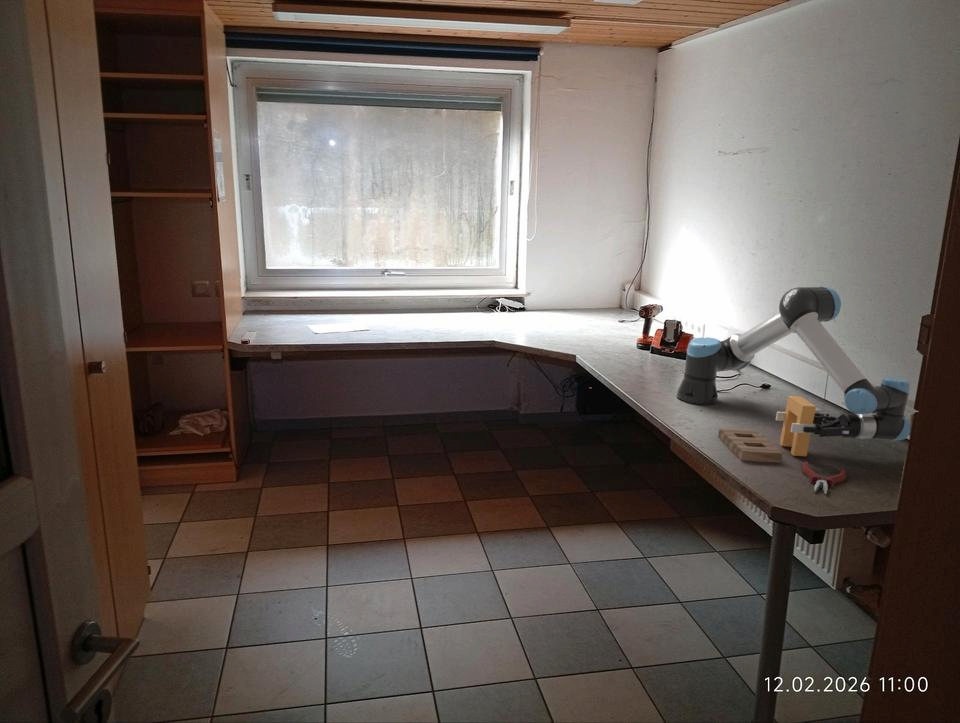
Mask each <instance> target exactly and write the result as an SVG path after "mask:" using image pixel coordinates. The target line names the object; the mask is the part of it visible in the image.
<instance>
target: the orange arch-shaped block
mask: <svg viewBox="0 0 960 723" xmlns="http://www.w3.org/2000/svg"><path fill="white" fill-rule="evenodd" d="M816 409H817V406H816V405H815V404H813V403H812V402H810V401H808V400H807V399H805V398H804V397H802V396H799V395H788V396H787V400H786V406H785V411H784V412H785V417H784V421H782V422H783V423H782V430H781V433H780V439H779V445H780V446H782V447H791V449H790V450H791V451H790V454H791V455H792V456H794V457H795V456H796V457H797V456H798V457H807V456H808V451H809V446H810V440H811V435H812V434H811V433H793V432H790V431H791V426H792V423H799V424H813V420H814V415H815V413H816Z"/></svg>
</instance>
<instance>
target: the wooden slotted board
mask: <svg viewBox="0 0 960 723" xmlns="http://www.w3.org/2000/svg"><path fill="white" fill-rule="evenodd" d="M717 437H718V438H719V439H720V440H721V441H722V442H723V443H724V445H725V446H726V447H727V448H728V449H729V450H730V451H731V452H732V453H733V454H734V455H735V456H736V457H737V459H739V460H740V461H744V462H758V463H759V462H762V463H764V462H765V463H777V464H778V463H779V464H780V463H782V459H783V452H782V451H781V450H779V449H778V448H777V447H776V446H775V445H774V444H773V443H771V441H769V440H768V439H767V438H766V437H764V435H763V434H761V433H760V432H759V431H758V430H757V429H743V428H741V429H740V428H726V427H725V428H724V427H723V428H721V427H719V428H718V435H717Z"/></svg>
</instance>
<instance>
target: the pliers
mask: <svg viewBox="0 0 960 723" xmlns="http://www.w3.org/2000/svg"><path fill="white" fill-rule="evenodd" d="M801 472H802V473H803V475H805V476H806V477H807V478H808V477H809V478H810V479H809V478H808V479H809V482H810V484H813V483H816V484H814V489H813V492H814V493H815V492H817V491H818V490H820V488H822V487H823V488H822V491H824V492H823V493H824V494H825V495H827V494H828V493H827V492H828V488H830V487H831V489H832V488H834V485H835V484H839V483H842V482H844V481H845V479H846V471H845V469H842V468H841V469H840V471H839V472H840V473H838V474H834V475H831V476H828V477H824V478H823V477H822V476H820V475H819V474H817V473H816V472H815V471H814V470H812V469H811V467H809V462H808V461H804V462H803V463H802V465H801ZM822 478H823V479H822Z"/></svg>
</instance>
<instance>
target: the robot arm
mask: <svg viewBox="0 0 960 723" xmlns="http://www.w3.org/2000/svg"><path fill="white" fill-rule="evenodd" d="M841 308H842V301H841V298H840V295H839V294H838V292H837V291H836V290H835V289H833V288H831V287H827V286H823V285H821V286H807V287H806V286H804V287H801V286H799V287H794V288H791V289H789V290H788V291H786V292H785V293H783V295H782V297H781V299H780V301H779V306H778V309H779V310H778V312H776V313H775V314H773V315H771V316H770V317H769V318H767V319H765V320H763V321H762V322H760V323H758V324H757V325H755V326H754V327H752V328H750V329H749V330H747V331H746V332H743V333H735V334H734V333H733V335H731V336H729V337H728V338H726V339H724V340H719V339H718V338H714V337H696V338H693V339H691V340H690V341H689V342H688V345H687V349H686V359H685V364H684V365H685V366H684V373H683V378H682V380H681V382H680V384H679V387H678V388H677V391H676V398H679V399H678V400H680V399H681V400H680V401H682V400H683V401H682V402H685V401H686V402H685V403H689V402H690V403H689V404H693V403H696V404H695V405H701V404H703V406H704V405H705V406H706V405H707V406H708V405H716V404H717V403H718V401H719V400H718V398H719V394H718V390H717V384H716V382H717V381H716V379H717V374H718V372H728V371H734V372H735V371H740V370H743V369H745V368H747V367H748V366H749V365H750V364H751V363H752V360H753V359H754V358H755V356H756V355H755V354H757V353H758V352H760V351H763V350H764V349H767V347H770V346H771V345H773V344H775V343H776V342H778V341H780V340H782V339H783V338H786V337H787V336H789V335H790V334H797V336H798V337H799V339H800V340H801V341H802V342H803V343H804V345H805V346H806V347H807V348H808V349H809V351H810V352H811V353H812V355H813V356H814V357H815V358H816V360H817V361H818V362H819V364H820V365H821V366H822V367H823V368H824V370H825V371H826V373H828V374H829V376H830V377H831V379H832V380H833V382H835V384H836V385H837V386H838V387H839V389H840V390H841V391H842V392H843V394H844V395H845V396H844V403H845V407H846V409H847V410H849V411H850V412H851V413H850V412H843V413H841V414H840V415H839V416H838V417H836V416H831V415H830V414H829V413H819V412H815V415H814V420H813V424H799V423H792V426H791V431H790V432H793V433H811V435H813V434H814V435H816V436H817V435H818V437H820V438H827V437H829V438H830V437H842V438H849V439H855V438H856V439H860V440H864V439H870V440H871V439H873V440H883V441H884V440H886V441H903V440H906V439H907V438H908V437H909V435H910V434H911V431H910V428H911V422H910V420H909V419H908V417H906V416H905V410H906V407H907V403H908V399H909V395H910V388H911V382H910V381H908V380H907V379H905V378H901V377H896V376H885V377H883V379H881V380H882V381H881V383H880V385H877V386H874V385H872V384H871V382H870V381H869V380H868V379H867V377H866V376H865V375H864V374H863V372H862V371H861V370H860V369H859V368H858V367H857V365H856V364H855V363H854V362H853V360H852V359H851V358H850V357H849V356H848V354H847V353H846V352H845V351H844V349H843V348H842V347H841V346H840V344H838V343H837V341H836V340H835V338H834V337H833V336H832V334H830V332H829V331H828V330H827V329H826V328H825V326H824V325H823V324H822V322H823V323H824V322H829V321H833V320H835V318H837V317H838V316H839V314H840V312H841ZM872 413H874V414H872ZM784 417H785V411H777V412H776V417H775V421H779V422H780V421H781V422H784ZM909 433H910V434H909Z"/></svg>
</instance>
